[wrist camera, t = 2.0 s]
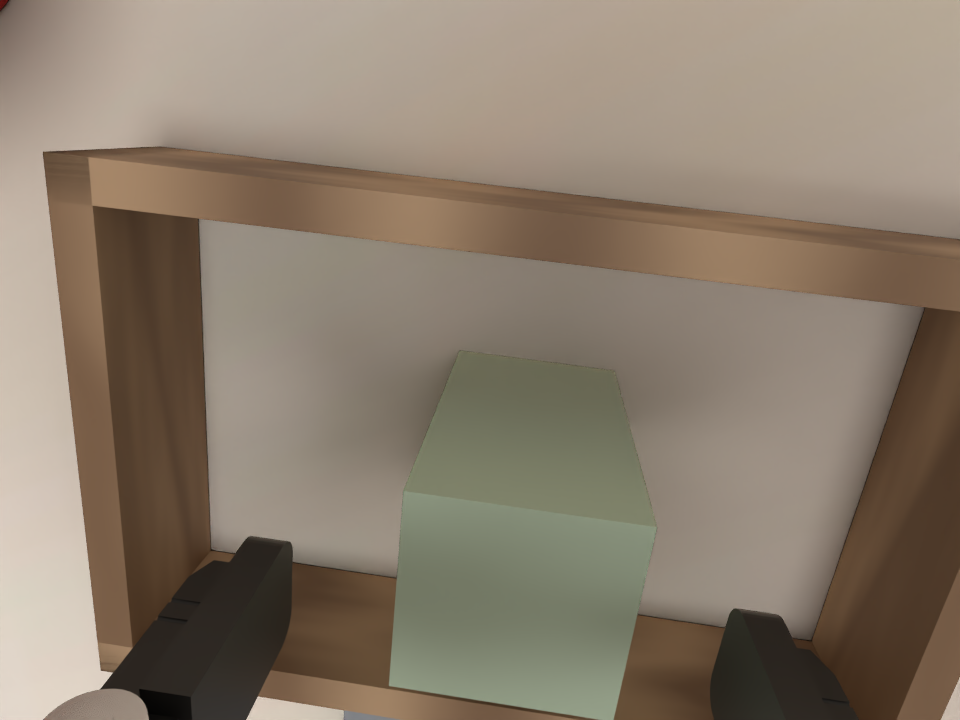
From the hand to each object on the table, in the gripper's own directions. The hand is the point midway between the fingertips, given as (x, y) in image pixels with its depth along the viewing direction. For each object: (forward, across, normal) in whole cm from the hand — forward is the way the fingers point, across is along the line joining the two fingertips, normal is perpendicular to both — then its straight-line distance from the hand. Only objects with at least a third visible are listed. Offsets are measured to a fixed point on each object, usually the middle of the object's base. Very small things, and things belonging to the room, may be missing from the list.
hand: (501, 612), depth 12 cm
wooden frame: (+8, 0, 0) cm, 8 cm away
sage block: (+8, 0, 0) cm, 8 cm away
